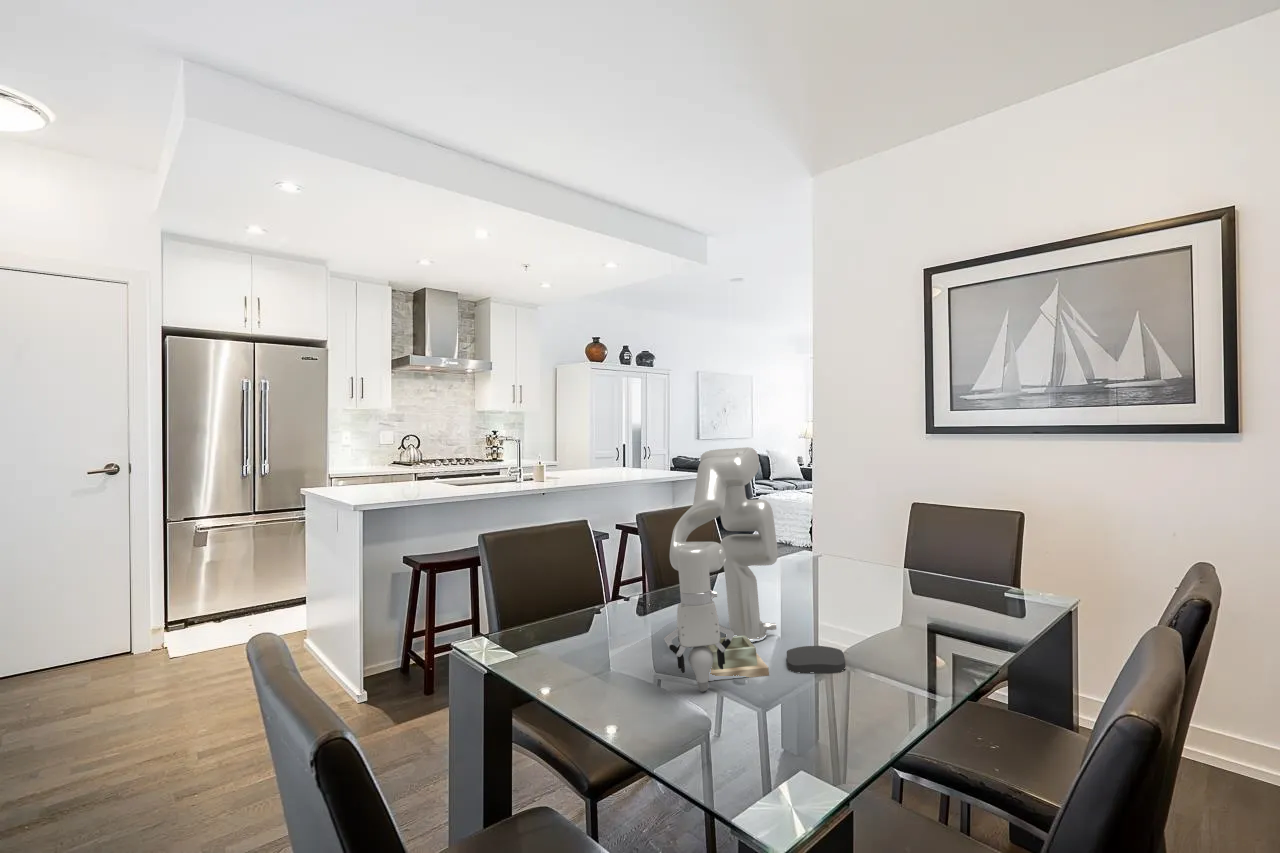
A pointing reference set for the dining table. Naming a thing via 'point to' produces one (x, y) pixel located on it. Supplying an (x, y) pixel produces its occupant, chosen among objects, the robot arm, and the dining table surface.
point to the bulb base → (739, 659)
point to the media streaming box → (815, 659)
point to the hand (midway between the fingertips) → (701, 669)
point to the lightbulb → (701, 665)
